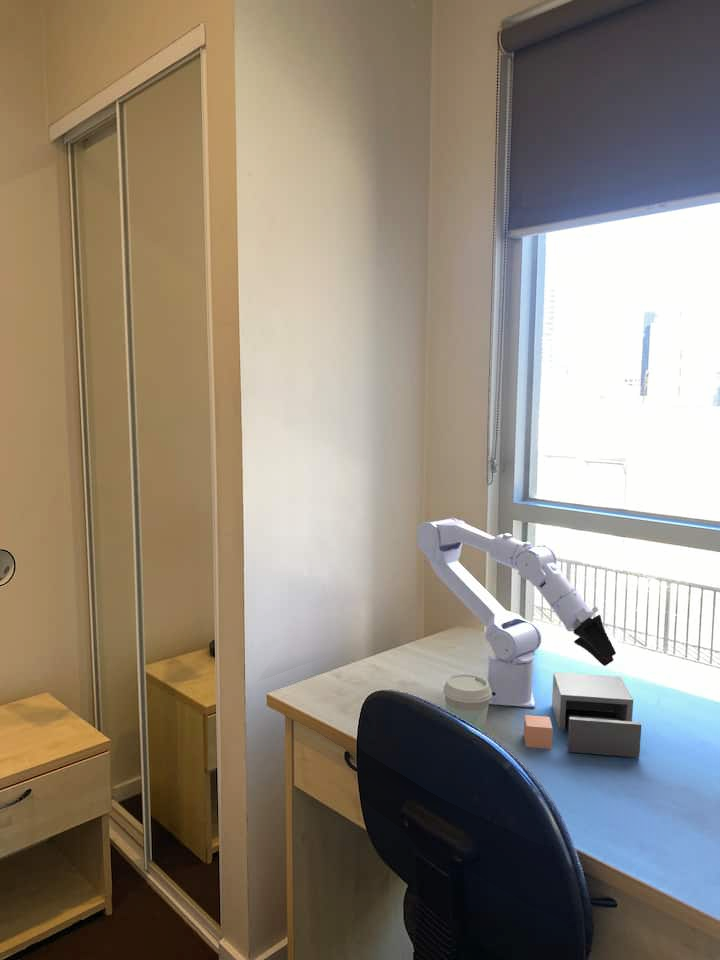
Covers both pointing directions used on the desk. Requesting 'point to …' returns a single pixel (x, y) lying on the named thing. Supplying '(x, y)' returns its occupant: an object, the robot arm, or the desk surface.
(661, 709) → the desk surface
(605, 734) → the tray
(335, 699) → the desk surface
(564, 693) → the player housing
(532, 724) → the terracotta block
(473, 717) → the coffee cup
